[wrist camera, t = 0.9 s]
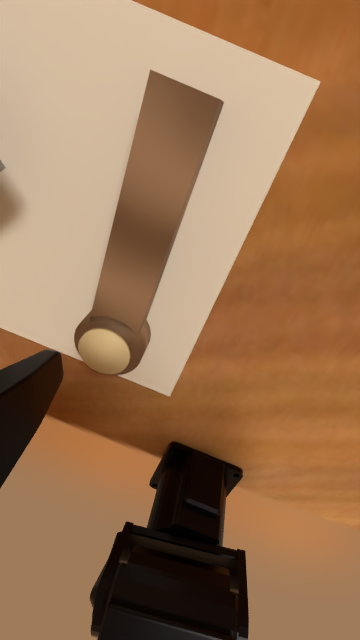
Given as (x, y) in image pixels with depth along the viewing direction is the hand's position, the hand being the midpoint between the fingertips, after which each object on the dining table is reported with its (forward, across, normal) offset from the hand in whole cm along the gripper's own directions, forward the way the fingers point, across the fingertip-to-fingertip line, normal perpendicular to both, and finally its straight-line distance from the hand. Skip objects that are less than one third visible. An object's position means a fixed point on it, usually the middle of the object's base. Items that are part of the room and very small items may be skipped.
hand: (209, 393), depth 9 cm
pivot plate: (+11, +11, -1) cm, 16 cm away
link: (+11, +5, 0) cm, 12 cm away
